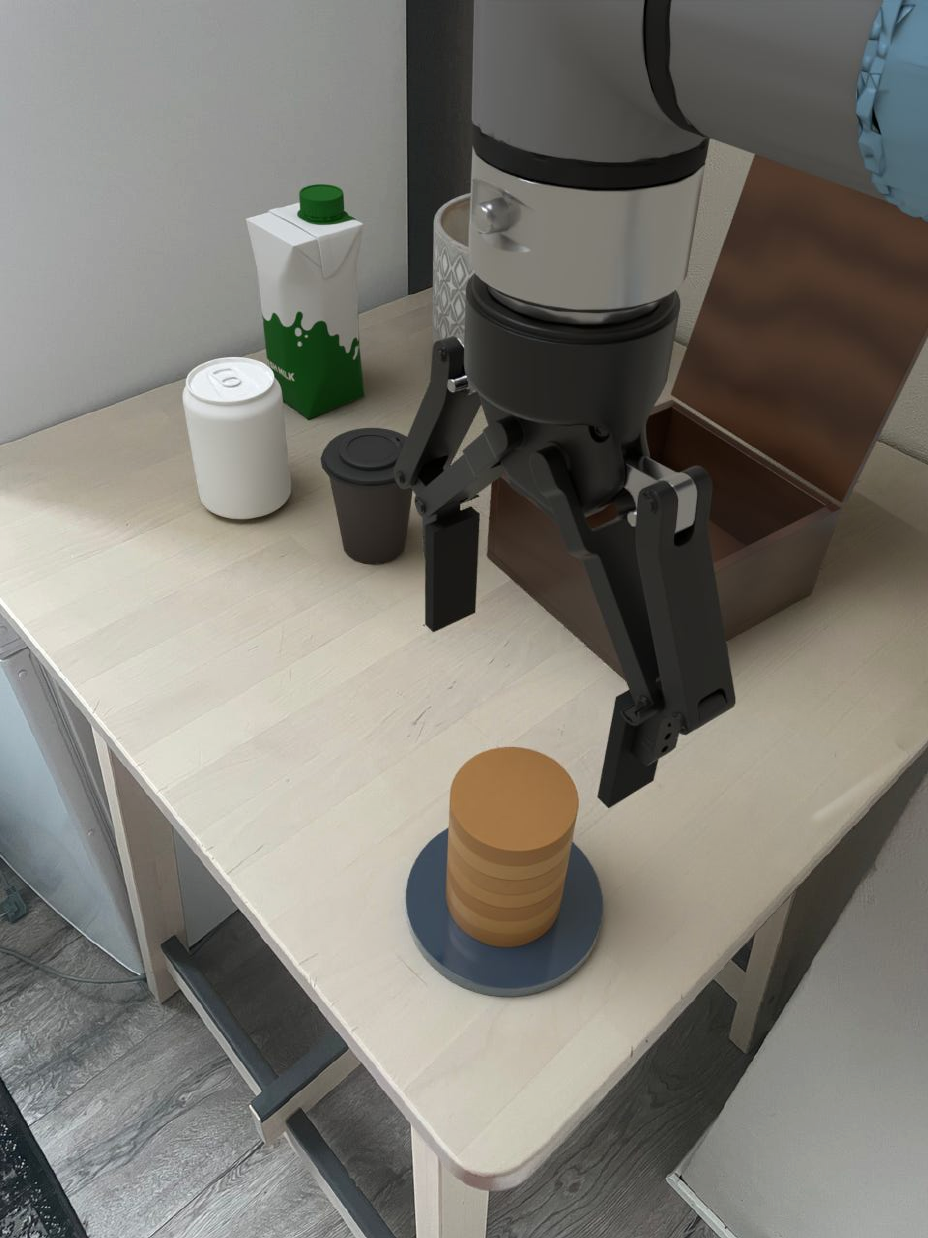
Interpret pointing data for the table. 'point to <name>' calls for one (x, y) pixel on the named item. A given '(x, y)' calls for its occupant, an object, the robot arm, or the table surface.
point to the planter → (450, 267)
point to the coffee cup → (368, 493)
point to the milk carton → (310, 298)
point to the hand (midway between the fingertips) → (530, 697)
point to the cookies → (509, 844)
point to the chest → (738, 533)
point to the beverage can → (237, 437)
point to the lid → (809, 323)
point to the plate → (502, 965)
